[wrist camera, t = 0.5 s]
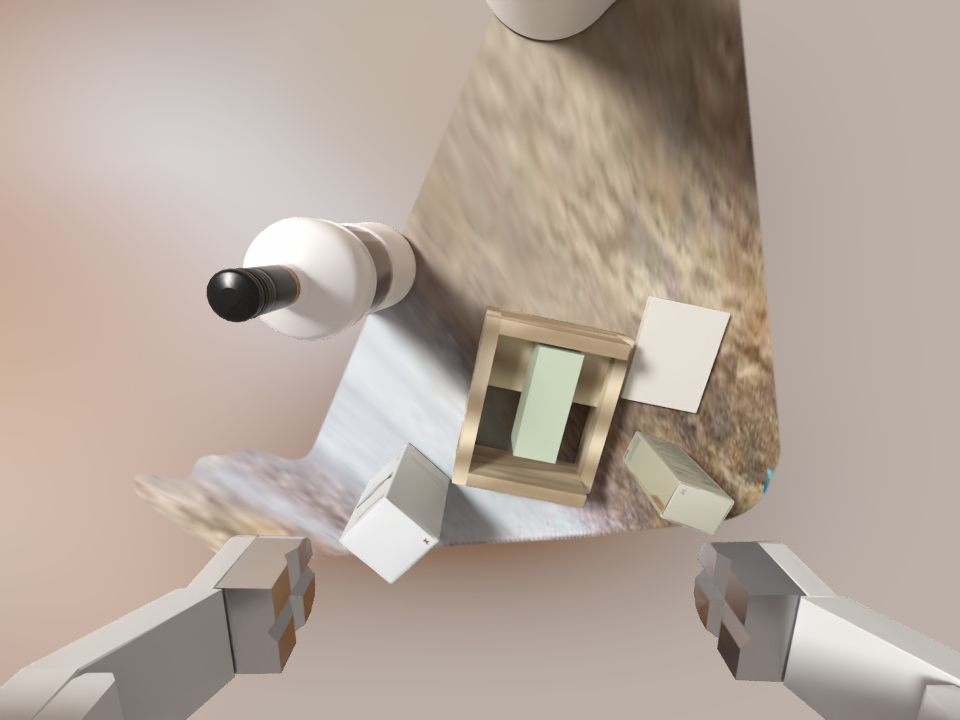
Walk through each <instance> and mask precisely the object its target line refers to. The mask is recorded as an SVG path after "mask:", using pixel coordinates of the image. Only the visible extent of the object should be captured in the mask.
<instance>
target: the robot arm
mask: <svg viewBox="0 0 960 720" xmlns="http://www.w3.org/2000/svg"><path fill="white" fill-rule="evenodd" d="M615 1H616V0H486V2H487V4H488V5H489V7H490V8H491V10H492V11H493V12H494V14H495V15H496V16H497V17H498V18H499V19H500V20H501V21H502V22H503V23H504V24H505V25H506V26H508V27H509V28H510V29H512V30H514V31H515V32H517V33H519V34H521V35H523V36H526V37H529V38H533V39H538V40H557V39H562V38H566V37H569V36H572V35H575V34H577V33H579V32H581V31H583V30H584V29H586V28H587V27H589V26H590V25H591V24H593V23H594V22H595V21H596V20H597V19H598V18H599V17H600V16H601V15H602V14H603V13H604V12H605V11H606V10H607V9H608V8H609V6H611V5H612V4H613V3H614V2H615ZM312 555H313V554H312V546H311V541H310V540H309V538H308V537H294V536H264V535H261V536H258V535H237V536H234V537H231V538H230V539H229V540H228V541H227V543H226V544H225V545H224V546H223V547H222V548H221V549H220V550H219V552H218V553H217V554H216V555H215V556H214V557H213V559H211V561H210V562H209V563H208V564H207V565H206V566H205V567H204V568H203V570H202V571H201V572H200V573H199V574H198V575H197V576H196V577H195V578H194V580H193V581H192V582H191V583H190V584H189V585H188V586H187V587H186V588H183V589H182V588H180V589H179V588H178V589H176V590H174V591H172V592H170V593H168V594H166V595H164V596H162V597H160V598H158V599H156V600H155V601H152V602H150V603H149V604H147V605H144V606H143V607H141V608H139V609H137V610H135V611H133V612H131V613H129V614H127V615H125V616H123V617H121V618H119V619H117V620H115V621H113V622H111V623H109V624H107V625H106V626H104V627H102V628H100V629H98V630H96V631H94V632H92V633H90V634H88V635H86V636H84V637H82V638H80V639H78V640H76V641H75V642H73V643H71V644H69V645H67V646H65V647H63V648H61V649H59V650H57V651H55V652H53V653H51V654H49V655H47V656H45V657H43V658H41V659H39V660H38V661H36V662H34V663H32V664H30V665H28V666H26V667H24V668H22V669H20V671H18V672H17V673H16V674H15V675H14V676H13V677H11V679H9V680H8V681H7V682H6V683H5V684H4V685H3V686H1V688H0V720H186V719H187V718H188V717H189V716H191V715H192V714H193V713H194V712H195V711H196V710H197V709H198V708H200V707H201V706H202V705H203V704H204V703H205V702H207V701H208V700H209V699H210V698H211V697H212V696H213V695H214V694H216V693H217V692H218V691H219V690H220V689H221V688H222V687H224V686H225V685H226V684H227V683H228V682H229V681H231V680H232V679H233V678H234V677H235V675H234V674H261V673H262V674H265V673H282V671H283V669H284V667H285V665H286V663H287V660H288V658H289V657H290V654H291V652H292V650H293V648H294V646H295V644H296V636H295V631H296V630H298V629H299V628H300V627H302V626H303V625H304V624H305V623H306V621H307V619H308V617H309V615H310V613H311V609H312V605H313V601H314V596H315V575H314V573H313V572H312V570H311V569H310V568H309V567H308V566H307V564H308V563H309V561H310V559H311V557H312ZM698 560H699V562H700V563H701V565H702V567H703V568H704V570H703V571H702V572H701V573H700V574H699V575H698V576H697V577H696V578H695V588H694V597H695V604H696V609H697V611H698V614H699V617H700V619H701V621H702V623H703V625H704V627H705V628H706V630H708V631H710V632H711V633H712V634H713V635H715V636H716V637H718V638H719V639H718V647H717V649H718V651H719V652H720V654H721V656H722V658H723V659H724V661H725V663H726V664H727V666H728V668H729V670H730V671H731V673H732V675H733V676H734V678H735V679H736V680H749V681H772V682H784V684H783V685H785V686H786V687H787V688H788V689H789V690H791V691H792V692H793V693H794V694H795V695H797V696H798V697H799V698H800V699H802V700H803V701H804V702H805V703H806V704H807V705H809V706H810V707H811V708H812V709H814V710H815V711H816V712H817V713H818V714H819V715H821V716H822V717H823V718H824V719H825V720H960V653H959V652H957V651H955V650H953V649H951V648H949V647H947V646H945V645H943V644H941V643H939V642H937V641H935V640H933V639H931V638H929V637H927V636H925V635H923V634H921V633H919V632H917V631H914V630H913V629H911V628H908V627H906V626H904V625H902V624H900V623H898V622H896V621H894V620H892V619H890V618H888V617H886V616H884V615H882V614H880V613H878V612H876V611H874V610H872V609H870V608H868V607H866V606H864V605H862V604H860V603H858V602H856V601H854V600H852V599H850V598H848V597H838V596H837V595H836V594H834V592H832V590H831V589H830V588H829V587H828V586H826V584H824V583H823V582H822V581H821V580H820V579H819V578H818V577H817V576H816V575H815V574H814V573H813V572H812V571H811V570H810V569H809V568H808V567H807V566H806V565H805V564H804V563H803V562H802V561H801V560H800V559H799V558H798V557H797V556H796V555H795V554H794V553H793V552H792V551H791V550H790V549H789V548H788V547H787V546H786V545H785V544H783V543H780V542H778V541H752V542H703V543H702V545H701V547H700V549H699V555H698Z"/></svg>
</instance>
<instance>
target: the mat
mask: <svg viewBox="0 0 960 720" xmlns="http://www.w3.org/2000/svg"><path fill="white" fill-rule="evenodd" d="M730 314H731V313H727V312H723V311H719V310H714V309H709V308H704V307H700V306H695V305H690V304H686V303H681V302H676V301H671V300H667V299H662V298H657V297H653V296H649V297H648V300H647V304H646V307H645V310H644V314H643V317H642V321H641V324H640V327H639V331H638V334H637V337H636V341H635V344H634V347H633V351H632V354H631V357H630V361H629V364H628V367H627V371H626V374H625V378H624V381H623V384H622V388H621V391H620V394H619V396H620V397H621V398H624V399H628V400H633V401H638V402H643V403H648V404H653V405H658V406H663V407H668V408H673V409H678V410H683V411H688V412H693V413H696V412H697V409H698V406H699V403H700V400H701V398H702V395H703V392H704V389H705V386H706V383H707V380H708V377H709V374H710V372H711V369H712V366H713V363H714V360H715V357H716V354H717V351H718V348H719V346H720V343H721V340H722V337H723V334H724V331H725V328H726V325H727V322H728V319H729V317H730Z"/></svg>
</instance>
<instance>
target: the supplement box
mask: <svg viewBox="0 0 960 720" xmlns="http://www.w3.org/2000/svg"><path fill="white" fill-rule="evenodd" d="M449 481H450V479H449V478H448V477H447V476H446V475H444V474H443V473H442V472H441V471H440V470H439V469H438V468H437V467H436V466H435V465H433V464H432V463H431V462H430V461H429V460H428V459H427V458H426V457H424V456H423V455H422V454H421V453H420V452H419V451H418V450H416V449H415V448H414V447H413V446H412V445H411V444H410V443H407V444H406V445H405V446H404V447H403V448H402V449H401V450H400V451H399V452H398V453H397V454H396V455H395V456H394V457H393V458H392V459H391V460H390V461H389V462H388V463H387V464H386V465H385V466H384V467H383V468H382V469H381V470H380V471H379V472H377V473H376V474H375V475H374V476H373V477H372V478H371V479H370V480H369V482H368V484H367V486H366V488H365V490H364V492H363V494H362V496H361V498H360V500H359V502H358V504H357V506H356V508H355V510H354V512H353V514H352V516H351V518H350V520H349V522H348V524H347V526H346V528H345V530H344V532H343V534H342V536H341V538H340V540H339V542H340V543H341V544H342V545H344V546H345V547H346V548H347V549H349V550H350V551H351V552H352V553H353V554H355V555H356V556H357V557H358V558H360V559H361V560H362V561H363V562H365V563H366V564H367V565H368V566H370V567H371V568H372V569H373V570H374V571H376V572H377V573H378V574H379V575H380V576H381V577H383V578H384V579H385V580H386V581H387V582H389V583H390V584H391V583H393V582H394V581H395V580H397V579H398V578H399V577H400V576H401V575H402V574H403V573H404V572H406V571H407V570H408V569H409V568H410V567H411V566H412V565H413V564H415V563H416V562H417V561H418V560H419V559H420V558H421V557H422V556H423V555H425V553H427V552H428V551H429V550H430V549H431V548H432V547H433V546H435V545H436V544H437V543H438V542H439V539H440V534H441V528H442V522H443V516H444V510H445V504H446V498H447V492H448V486H449Z"/></svg>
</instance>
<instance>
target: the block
mask: <svg viewBox="0 0 960 720" xmlns="http://www.w3.org/2000/svg"><path fill="white" fill-rule="evenodd" d="M583 359H584V355H583V353H582V352H581V351H579V350H574V349H569V348H564V347H560V346H555V345H550V344H545V343H540V342H535V341H534V343H533V347H532V351H531V355H530V359H529V363H528V367H527V372H526V376H525V380H524V384H523V388H522V392H521V396H520V401H519V405H518V409H517V413H516V417H515V421H514V425H513V430H512V434H511V441H512V449H513V456H518V457H523V458H528V459H533V460H538V461H543V462H549V463H554V464H555V462H556V458H557V455H558V451H559V447H560V444H561V440H562V436H563V433H564V429H565V425H566V422H567V418H568V414H569V411H570V407H571V403H572V400H573V396H574V392H575V388H576V385H577V381H578V377H579V374H580V370H581V366H582V363H583Z"/></svg>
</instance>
